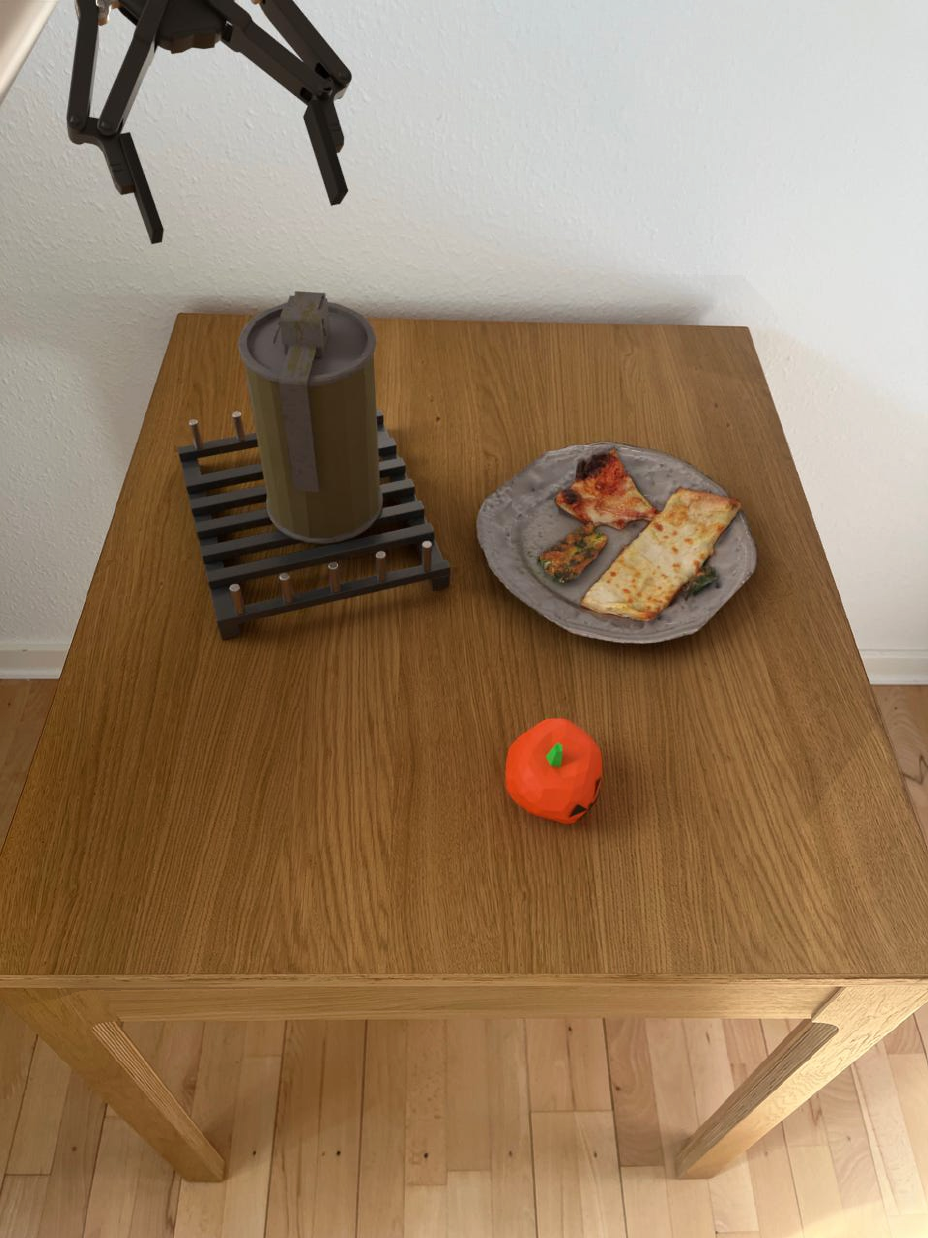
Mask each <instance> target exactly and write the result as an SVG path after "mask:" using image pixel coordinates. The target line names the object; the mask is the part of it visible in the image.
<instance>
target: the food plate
mask: <svg viewBox="0 0 928 1238" xmlns="http://www.w3.org/2000/svg"><path fill="white" fill-rule="evenodd" d="M742 503H743V502H742V501H741V499H739V498H737V497H735V496H734V497H731V496H730V495H729V493H728V492H727V491H726V489H725V488H724V487H723V486H722V485H721V484H720V483H717V482H716V481H715V480H714V479H713V478H712V477H710V476H709V475H708V474H705V473H704V472H702V471H701V470H699V469H698V468H697V467H695V466H694V465H692V464H691V463H690V462H688V461H687V460H684V459H682V458H679V457H676V456H675V455H672V454H669V453H668V452H664V451H662V450H658V449H654V448H649V447H645V446H639V445H633V444H629V443H623V442H618V441H610V440H603V441H594V442H593V441H592V442H588V443H586V444H578V443H577V444H570V445H568V446H564V447H562V448H559V449H554V450H547V451H545V452H544V453H542V454H541V455H539V456H537V458H535V459H534V460H532V461H531V462H530V463H529V464H527V465H526V466H525V467H523V468H522V469H521V470H520V471H518V472H516V473H515V474H514V475H513V476H511V477H510V478H509V479H508V480H506V481H505V482H504V483H502V485H500V486H499V487H498V488H496V489H495V492H494V491H493V492H491V494H489V495H488V496H487V497H485V499H484V501H483V502H482V504H481V506H480V508H479V510H478V515H477V517H476V524H475V525H476V526H475V527H476V533H477V536H476V538H477V540H478V544H479V546H480V548H481V549H482V550H483V552H484V556H485V557H486V561H487V565H488V567H489V568H490V570H491V571H492V572H493V575H495V576H496V577H497V579H498V580H499V582H500V583H502V584H503V586H505V589H507V590H508V591H509V592H510V593H511V594H512V595H513V596H515V598H518V599H519V600H520V601H521V602H522V603H524V604H525V605H527V607H529V608H530V609H532V610H534V611H535V612H537V613H538V614H539V616H543V617H544V618H546V619H547V620H549V621H550V622H552V623H555V625H557V626H559V627H560V628H562V629H563V630H565V631H566V632H568V633H572V634H574V635H577V636H582V637H585V638H590V639H597V640H600V641H606V642H608V641H609V642H613V643H620V644H628V643H629V644H634V645H635V644H636V645H639V644H641V645H642V644H643V645H644V644H652V643H653V644H655V643H661V642H663V643H664V642H665V641H671V640H674V639H679V638H681V637H685V636H689V635H694V634H695V633H698V632H700V630H701V629H702V628H703V627H704V626H705V625H707V624H708V622H709V621H710V620H711V619H712V618H713V617H714V616H715V615H716V614H717V612H718V611H720V610H721V609H722V608H723V607H724V606H725V605H726V603H727V602H729V600H730V599H731V598H732V597H733V596H734V595H735V594H736V592H738V591H739V590H740V588H741V587H742V586H743V585H744V584H745V583H746V582H747V581H748V580H749V579H750V578H751V577H752V576H753V575H754V574H755V571H756V567H757V566H758V552H757V551H758V550H757V544H756V542H755V540H754V537H753V533H752V532H751V529H750V526H749V521H748V517H747V514H746V513H744V510H743V509H742Z"/></svg>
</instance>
